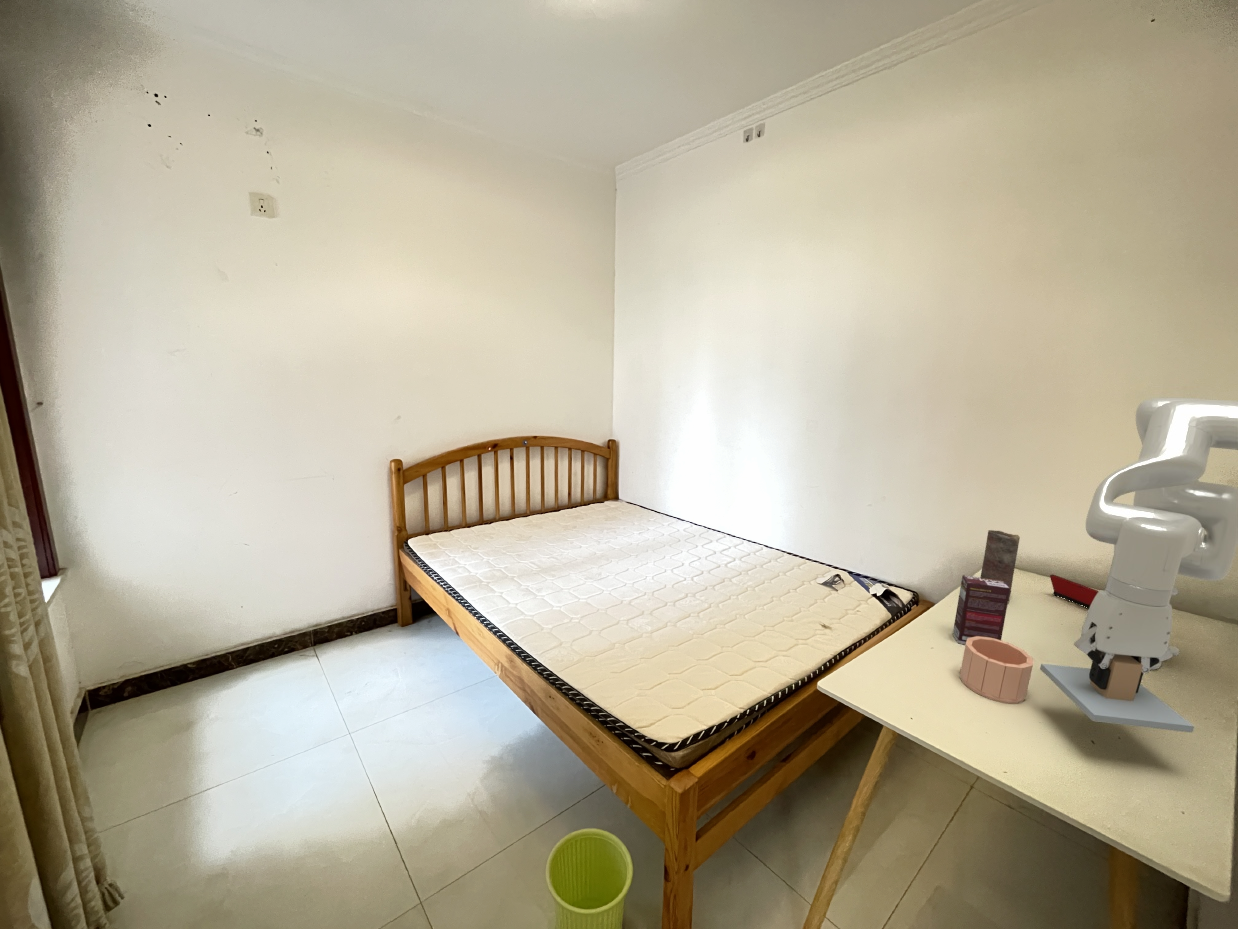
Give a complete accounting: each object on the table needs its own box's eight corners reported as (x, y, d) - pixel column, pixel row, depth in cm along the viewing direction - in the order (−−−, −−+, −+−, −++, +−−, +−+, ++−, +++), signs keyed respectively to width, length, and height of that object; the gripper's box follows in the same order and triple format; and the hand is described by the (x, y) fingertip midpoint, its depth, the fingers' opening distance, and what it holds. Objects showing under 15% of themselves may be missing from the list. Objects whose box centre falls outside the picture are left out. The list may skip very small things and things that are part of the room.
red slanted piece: (1121, 612, 138) (1127, 587, 136) (1094, 617, 135) (1100, 592, 133) (1069, 592, 149) (1075, 569, 148) (1044, 596, 146) (1049, 573, 145)
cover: (1123, 677, 94) (1134, 638, 92) (1192, 732, 81) (1206, 688, 79) (1039, 669, 96) (1048, 630, 95) (1092, 721, 83) (1103, 677, 81)
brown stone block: (970, 592, 147) (982, 528, 143) (993, 592, 148) (1006, 528, 144) (991, 605, 140) (1004, 537, 135) (1015, 604, 140) (1029, 537, 136)
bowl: (1006, 673, 108) (1013, 640, 107) (1037, 707, 98) (1046, 670, 96) (950, 666, 110) (956, 634, 109) (975, 699, 100) (982, 663, 98)
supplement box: (991, 640, 121) (1004, 579, 118) (999, 651, 117) (1012, 588, 114) (950, 633, 124) (961, 574, 121) (956, 643, 120) (968, 582, 116)
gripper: (1176, 585, 86) (1150, 678, 90) (1065, 576, 89) (1045, 667, 93) (1218, 606, 79) (1188, 707, 83) (1096, 596, 82) (1073, 694, 86)
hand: (1112, 685), depth 88 cm, fingers closed on cover, 4 cm apart
